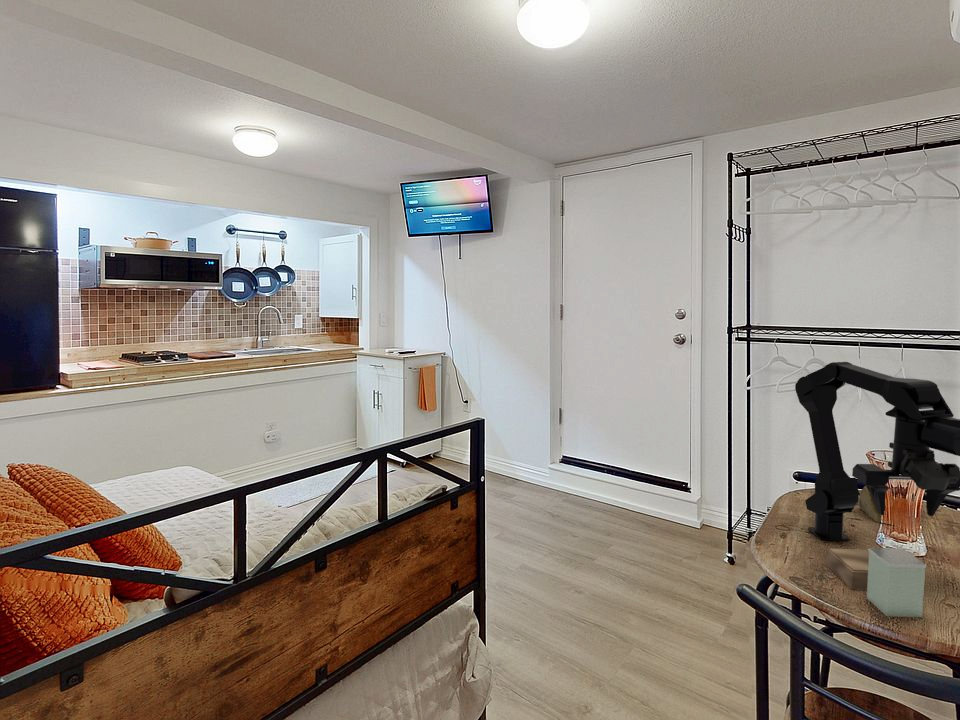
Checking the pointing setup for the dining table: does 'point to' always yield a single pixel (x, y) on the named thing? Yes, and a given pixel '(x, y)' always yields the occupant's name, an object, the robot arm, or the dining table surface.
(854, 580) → the walnut box
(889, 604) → the tea tin
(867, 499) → the rock
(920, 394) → the robot arm
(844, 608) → the dining table surface
